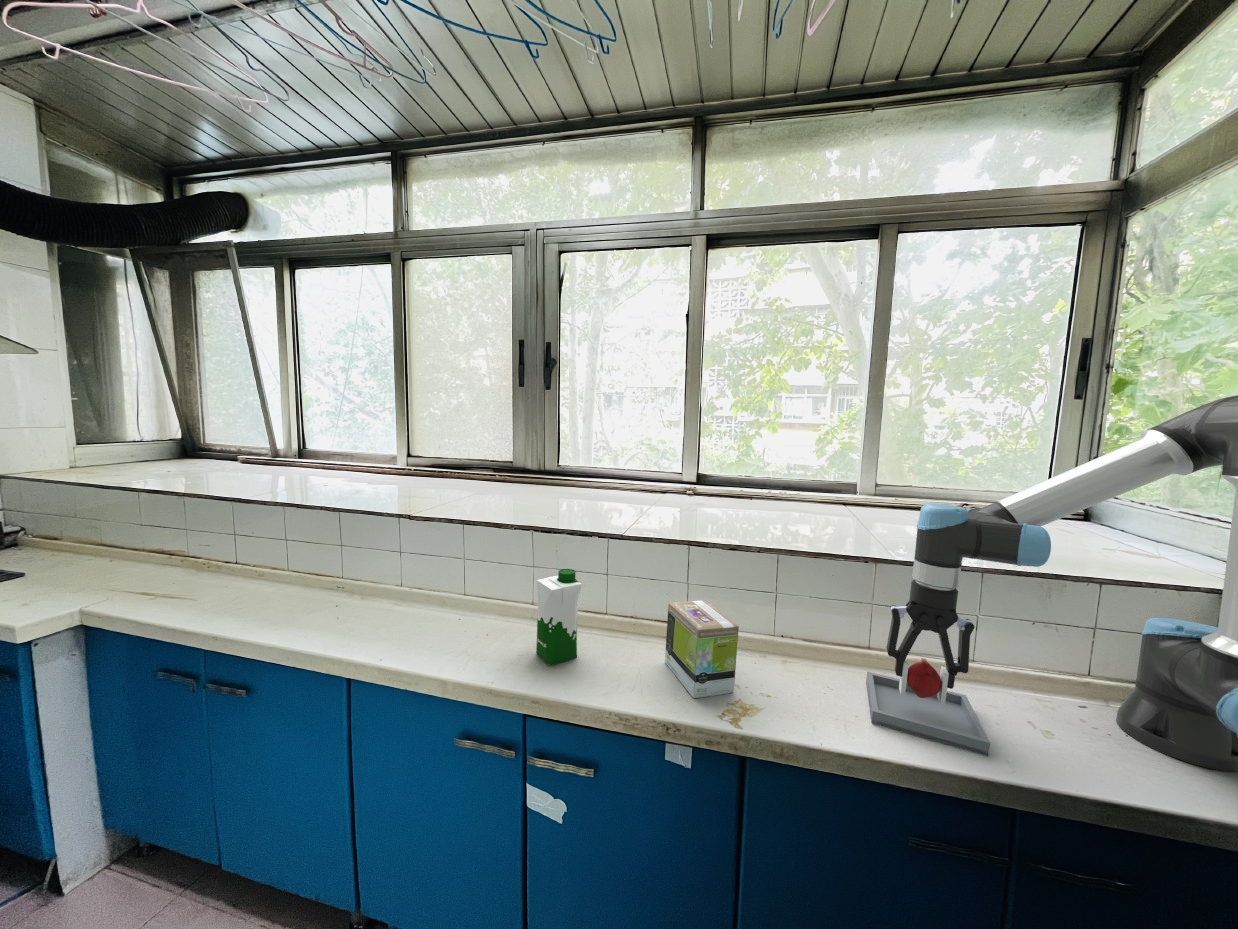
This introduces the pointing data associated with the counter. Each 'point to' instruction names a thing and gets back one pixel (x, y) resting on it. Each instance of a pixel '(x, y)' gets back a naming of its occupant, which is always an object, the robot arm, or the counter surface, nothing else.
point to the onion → (923, 679)
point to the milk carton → (557, 617)
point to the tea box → (701, 648)
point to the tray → (925, 715)
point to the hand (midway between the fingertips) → (921, 696)
